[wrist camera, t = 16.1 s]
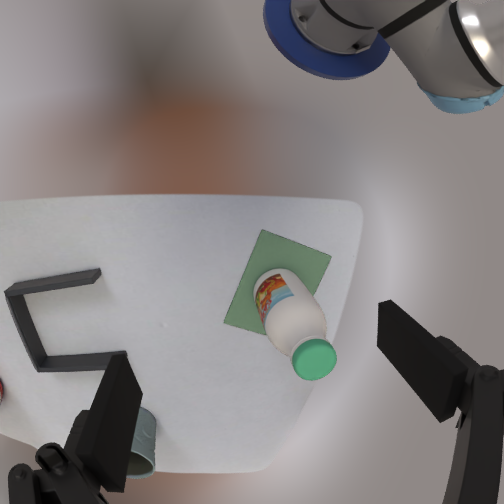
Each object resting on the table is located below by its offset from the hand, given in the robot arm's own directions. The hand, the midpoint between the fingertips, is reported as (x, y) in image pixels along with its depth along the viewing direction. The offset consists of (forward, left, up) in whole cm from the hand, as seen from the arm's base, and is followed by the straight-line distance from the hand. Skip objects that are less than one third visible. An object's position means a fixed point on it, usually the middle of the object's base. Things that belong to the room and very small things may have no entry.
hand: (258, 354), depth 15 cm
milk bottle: (+7, +11, -32) cm, 35 cm away
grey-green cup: (+43, -4, -33) cm, 54 cm away
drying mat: (+7, +11, -32) cm, 35 cm away
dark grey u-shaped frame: (+24, -20, -33) cm, 45 cm away
